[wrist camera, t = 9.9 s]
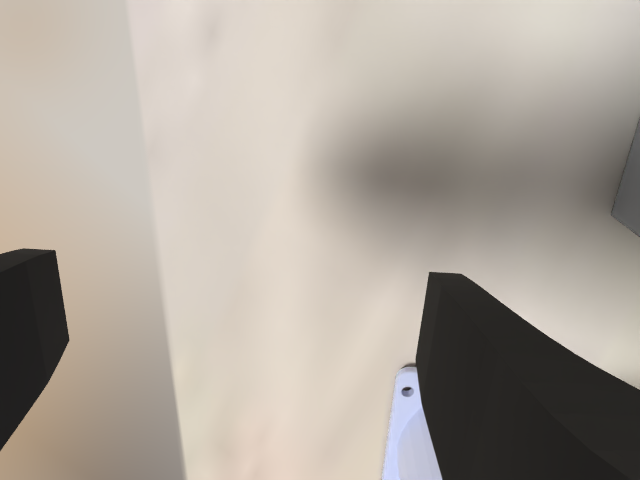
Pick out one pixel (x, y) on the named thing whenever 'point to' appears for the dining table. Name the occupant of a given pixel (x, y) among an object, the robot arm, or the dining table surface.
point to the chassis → (630, 189)
